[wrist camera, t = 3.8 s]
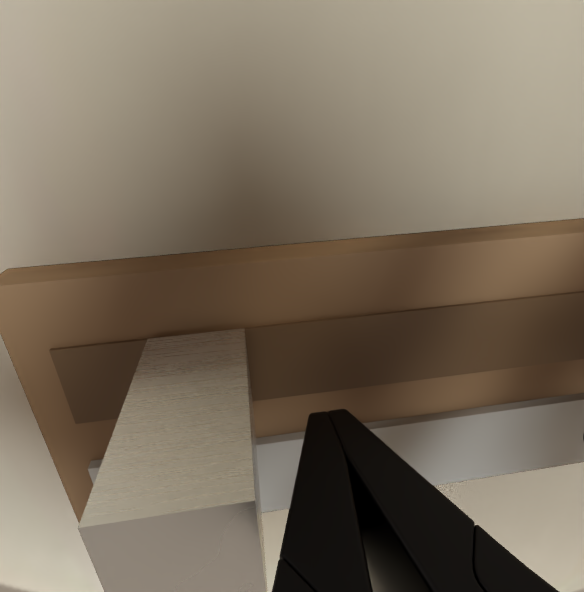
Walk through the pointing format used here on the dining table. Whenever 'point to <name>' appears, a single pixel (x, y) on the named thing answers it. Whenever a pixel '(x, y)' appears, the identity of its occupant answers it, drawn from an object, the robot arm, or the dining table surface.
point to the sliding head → (181, 475)
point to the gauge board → (328, 346)
